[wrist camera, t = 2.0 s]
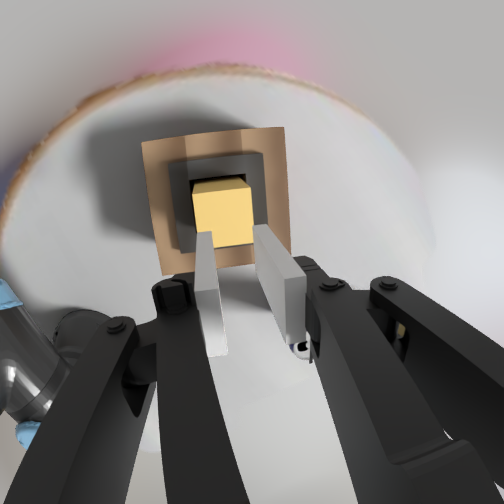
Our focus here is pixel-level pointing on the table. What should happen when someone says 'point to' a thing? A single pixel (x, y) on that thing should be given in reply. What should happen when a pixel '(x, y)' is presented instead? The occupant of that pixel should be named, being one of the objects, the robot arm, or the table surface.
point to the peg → (224, 210)
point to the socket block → (211, 165)
